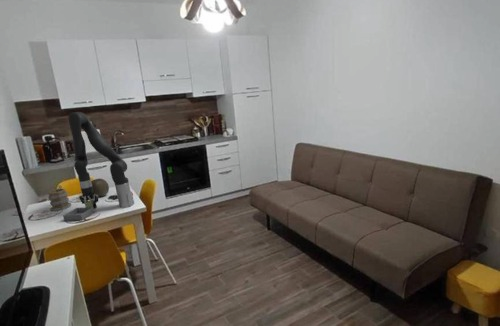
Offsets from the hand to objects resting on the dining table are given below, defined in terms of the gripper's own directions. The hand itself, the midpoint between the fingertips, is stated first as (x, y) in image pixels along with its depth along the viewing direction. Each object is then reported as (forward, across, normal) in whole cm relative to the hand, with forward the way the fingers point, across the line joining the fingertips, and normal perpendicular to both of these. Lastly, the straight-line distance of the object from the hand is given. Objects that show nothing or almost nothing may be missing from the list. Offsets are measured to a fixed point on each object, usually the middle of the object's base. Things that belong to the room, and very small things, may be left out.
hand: (91, 208), depth 220 cm
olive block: (+1, 0, 0) cm, 1 cm away
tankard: (+1, +31, -9) cm, 32 cm away
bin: (+1, 0, +13) cm, 13 cm away
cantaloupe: (+1, +11, -28) cm, 30 cm away
